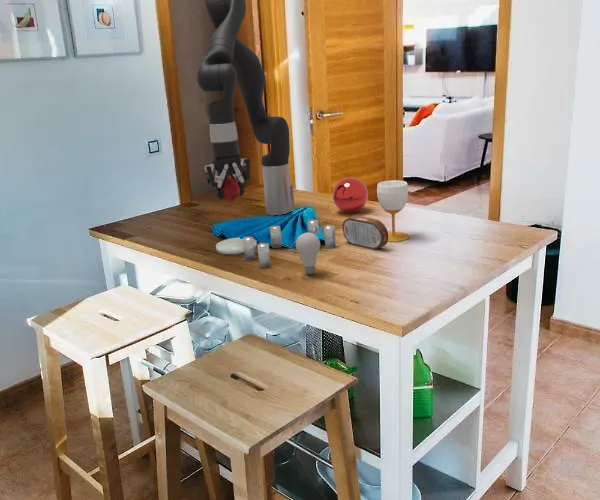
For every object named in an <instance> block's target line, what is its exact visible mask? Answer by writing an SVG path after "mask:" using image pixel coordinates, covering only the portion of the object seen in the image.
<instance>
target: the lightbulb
mask: <svg viewBox="0 0 600 500" xmlns="http://www.w3.org/2000/svg"><path fill="white" fill-rule="evenodd" d="M295 248H296V251H297V252H298V254H299V255H300V256H301V257H302V260H301V261H302V264H303V266H304V273H305V274H308V275H309V276H310V275H313V274H314V273H316V260H317V256H318V254H319V251H320V249H321V242H320V237H319V238H318V237H317V236H316V235H315V234H313V233H309V232H304V233H302V234H300V235H299V236H298V237H297V239H296V241H295Z"/></svg>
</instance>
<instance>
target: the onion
mask: <svg viewBox="0 0 600 500" xmlns="http://www.w3.org/2000/svg"><path fill="white" fill-rule="evenodd" d="M221 187H222V190H223V200H225V201H227V202H228V203H230V204H232V203H234V202H235V200H237V199H238V198H239V194H240V186H239V184H238V183H237V180H236V179H233V178H232V175H231V174H230V175H228V176H226V177H225V178H224V180H223V182H222V185H221Z"/></svg>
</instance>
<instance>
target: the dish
mask: <svg viewBox="0 0 600 500" xmlns="http://www.w3.org/2000/svg"><path fill="white" fill-rule="evenodd" d="M253 239H254V248H255V249H256V248H257V244H258V243H257V240H256V239H255V238H253ZM215 247H216V248H215V249H216V250H215V251H216V253H219V254H222V255H241V254H244V247H243V239H240V237H231V238H228V239H227V238H226V239H224V240H221V241H219V242H218V243H216V245H215Z"/></svg>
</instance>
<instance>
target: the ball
mask: <svg viewBox="0 0 600 500" xmlns="http://www.w3.org/2000/svg"><path fill="white" fill-rule="evenodd" d="M332 190H333V191H332V195H331V196H332V200H333V203H334V205H335V206H336V208H337V209H339V211H341V212H344V213H348V214H349V213H351V214H352V213H357V212H358V211H360V210H362V209H363V208H364V207H365V205H366V204H367V202H368V198H369V193H368V192H369V191H368V188H367V186H366V184H364V182H363V181H362V180H360V179H359V178H357V177H343V178H342V179H340V180H339V181H338V182H337V183H336V184H335V185H334V187H333V189H332Z"/></svg>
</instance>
